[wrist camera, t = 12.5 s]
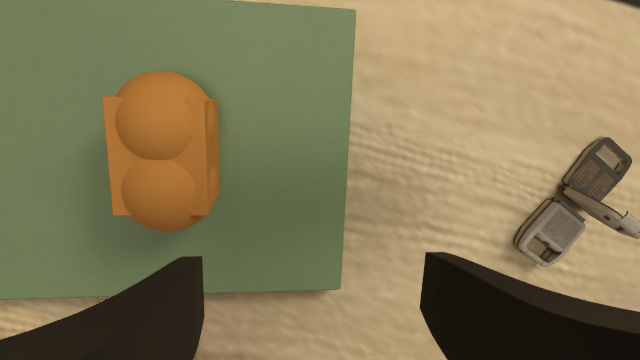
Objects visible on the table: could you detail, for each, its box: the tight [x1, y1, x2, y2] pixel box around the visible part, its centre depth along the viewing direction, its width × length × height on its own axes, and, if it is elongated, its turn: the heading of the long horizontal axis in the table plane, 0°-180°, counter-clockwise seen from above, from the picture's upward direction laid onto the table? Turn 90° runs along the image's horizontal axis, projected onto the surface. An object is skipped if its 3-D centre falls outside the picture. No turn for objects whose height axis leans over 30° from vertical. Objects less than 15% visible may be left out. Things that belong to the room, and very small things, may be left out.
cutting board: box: [0, 0, 356, 300], centre depth 18 cm, size 15×20×1 cm
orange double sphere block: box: [102, 71, 220, 232], centre depth 16 cm, size 7×4×4 cm, turn 178°
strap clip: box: [515, 137, 640, 267], centre depth 21 cm, size 8×3×4 cm, turn 143°
